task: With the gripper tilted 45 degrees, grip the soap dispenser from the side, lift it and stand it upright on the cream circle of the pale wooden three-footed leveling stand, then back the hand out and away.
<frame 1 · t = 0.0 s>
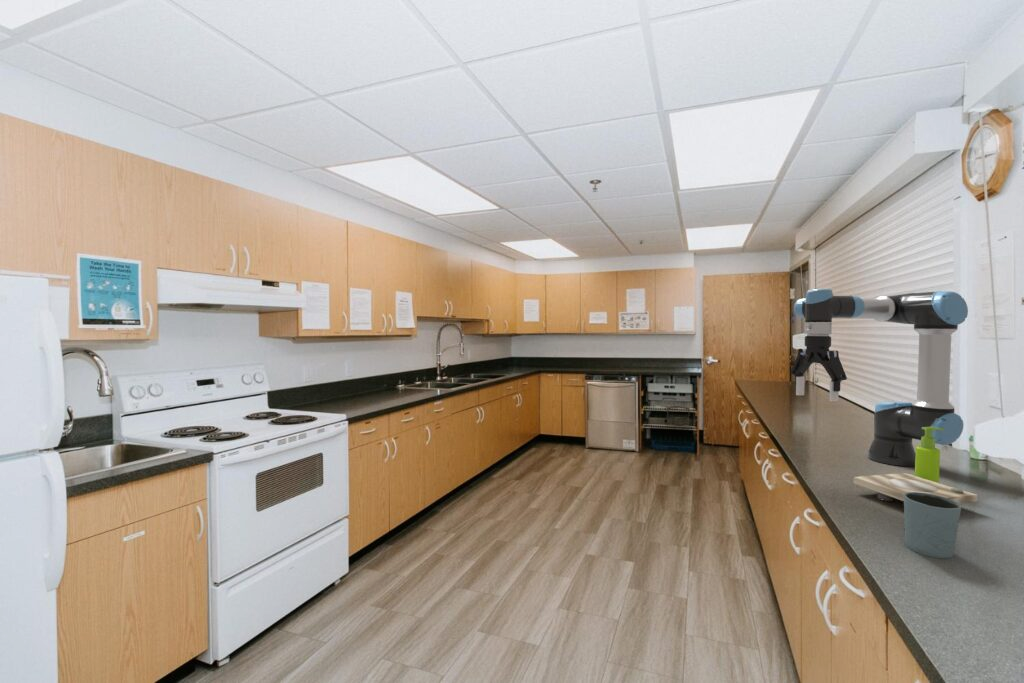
hand: (816, 398, 160), 28 cm above the countertop, tool pointing down, fingers open, 13 cm apart
leveling stand: (911, 501, 141), on the countertop
blue-grey cup: (929, 550, 111), on the countertop
soap dispenser: (928, 489, 152), on the countertop
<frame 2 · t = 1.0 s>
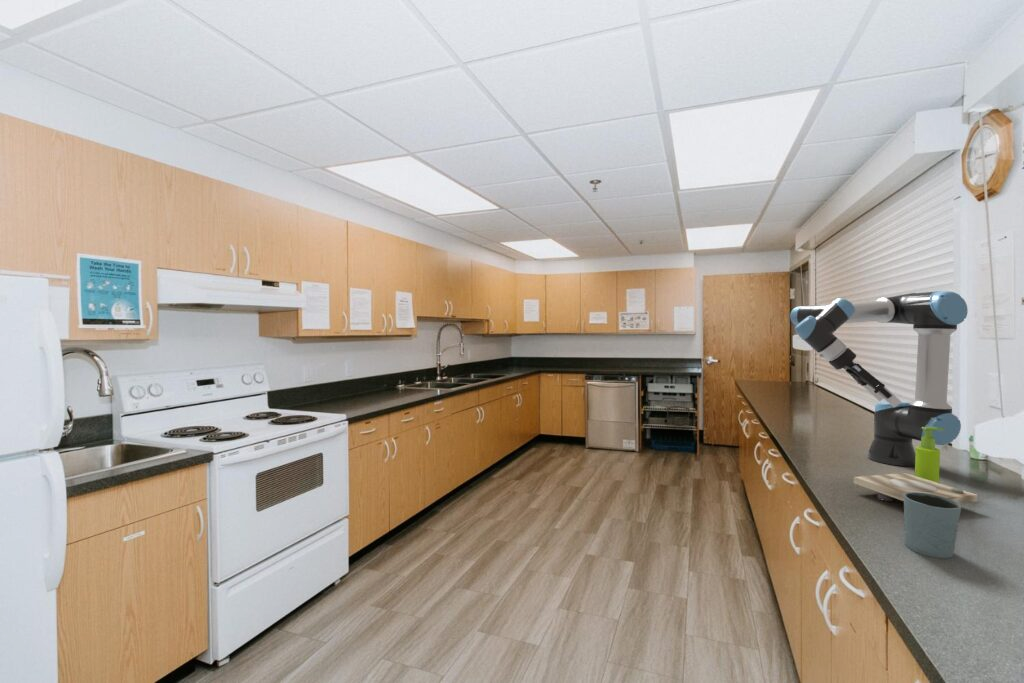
hand: (890, 401, 156), 28 cm above the countertop, tool tilted 45°, fingers open, 13 cm apart
nothing on the countertop moved.
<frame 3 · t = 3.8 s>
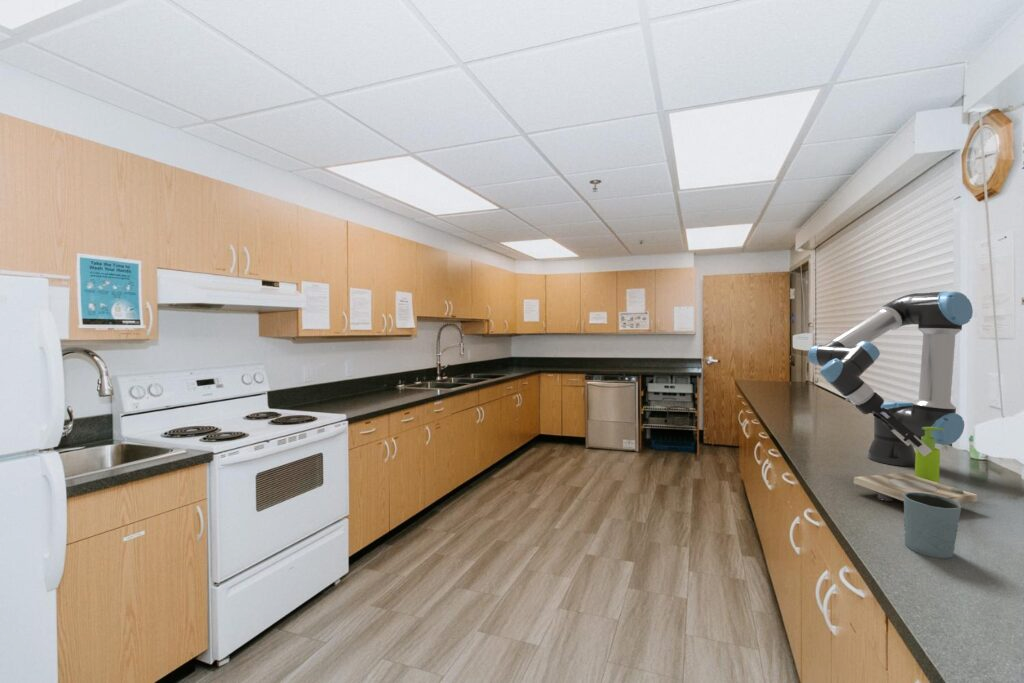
hand: (919, 448, 152), 13 cm above the countertop, tool tilted 45°, fingers open, 13 cm apart
nothing on the countertop moved.
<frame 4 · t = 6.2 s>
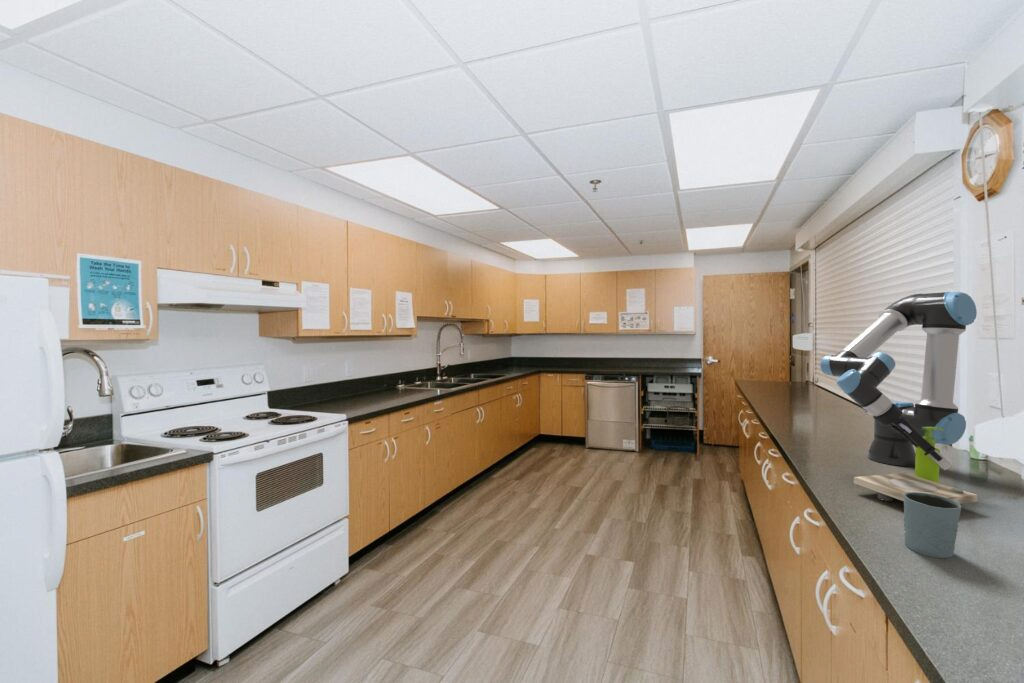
hand: (943, 464, 151), 8 cm above the countertop, tool tilted 45°, fingers closed on soap dispenser, 6 cm apart
soap dispenser: (928, 489, 152), on the countertop, touching gripper
everything else where it was.
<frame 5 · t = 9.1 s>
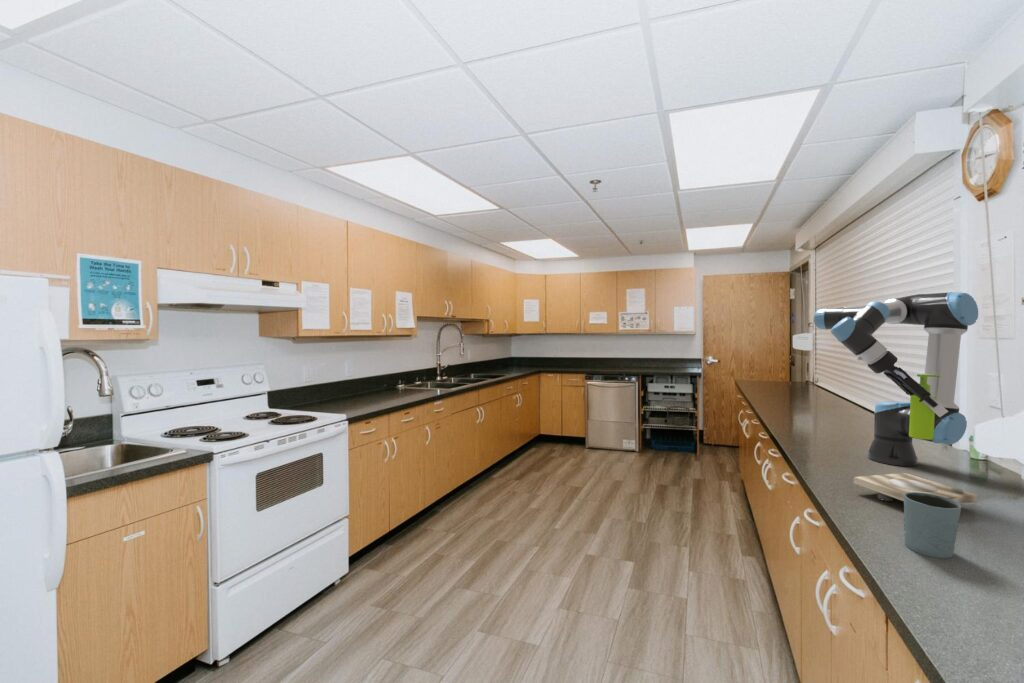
hand: (938, 412, 147), 26 cm above the countertop, tool tilted 45°, fingers closed on soap dispenser, 6 cm apart
soap dispenser: (922, 438, 149), point 17 cm above the countertop, touching gripper
everything else where it was.
when the fingers open (15 cm above the countertop, at t = 12.0 s): soap dispenser drops 1 cm, resting on leveling stand.
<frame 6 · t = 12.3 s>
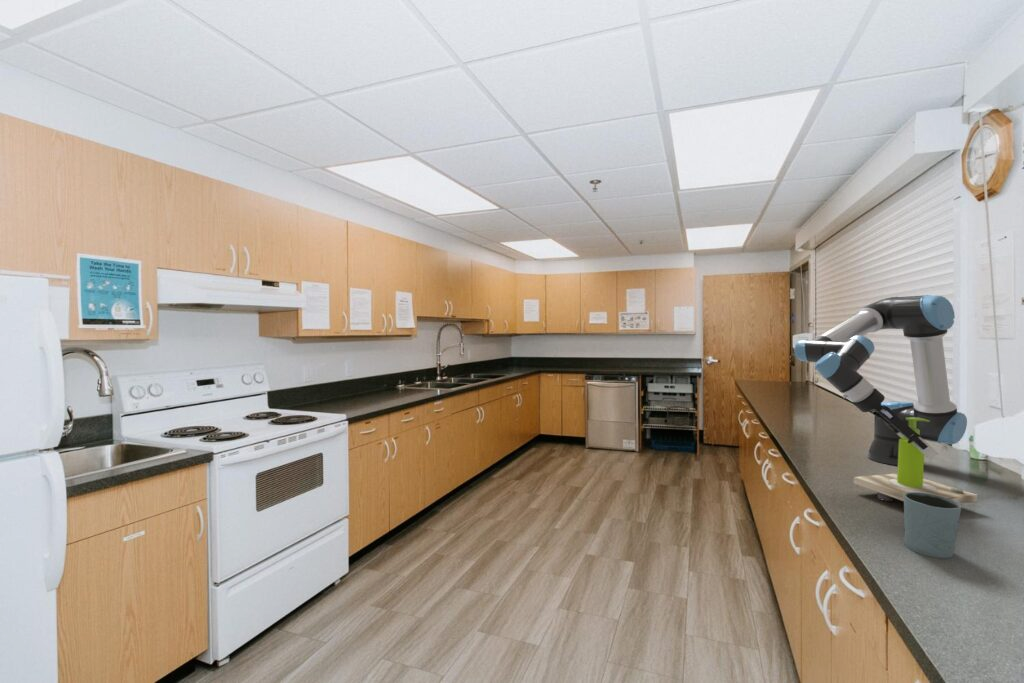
hand: (926, 451, 139), 15 cm above the countertop, tool tilted 45°, fingers open, 10 cm apart
soap dispenser: (911, 484, 141), point 5 cm above the countertop, touching leveling stand
everything else where it was.
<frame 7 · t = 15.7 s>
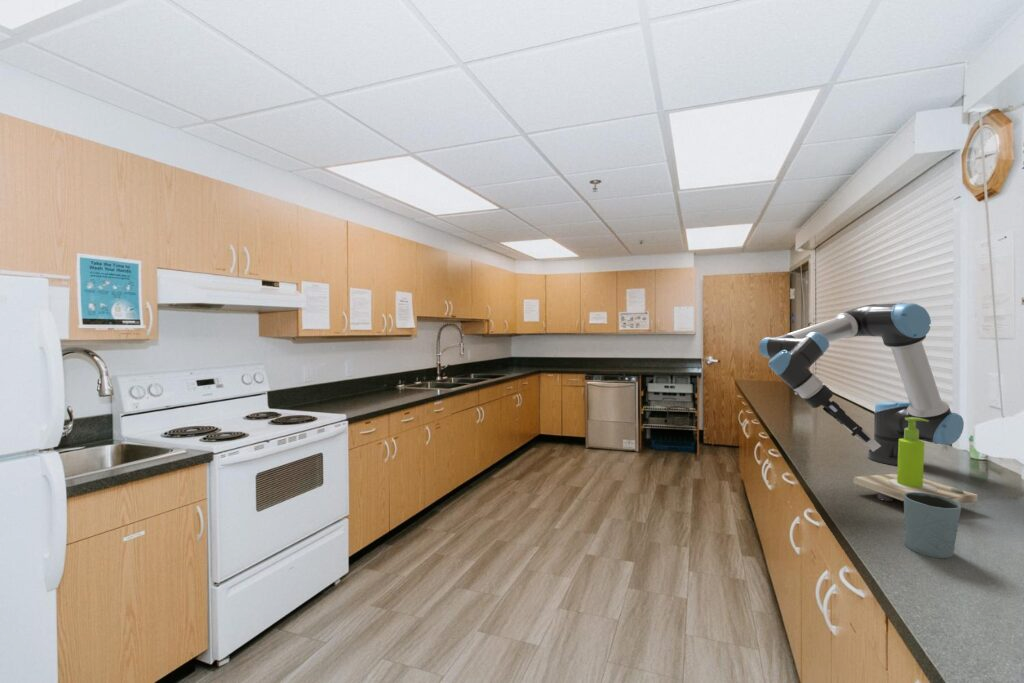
hand: (869, 443, 145), 17 cm above the countertop, tool tilted 45°, fingers open, 13 cm apart
nothing on the countertop moved.
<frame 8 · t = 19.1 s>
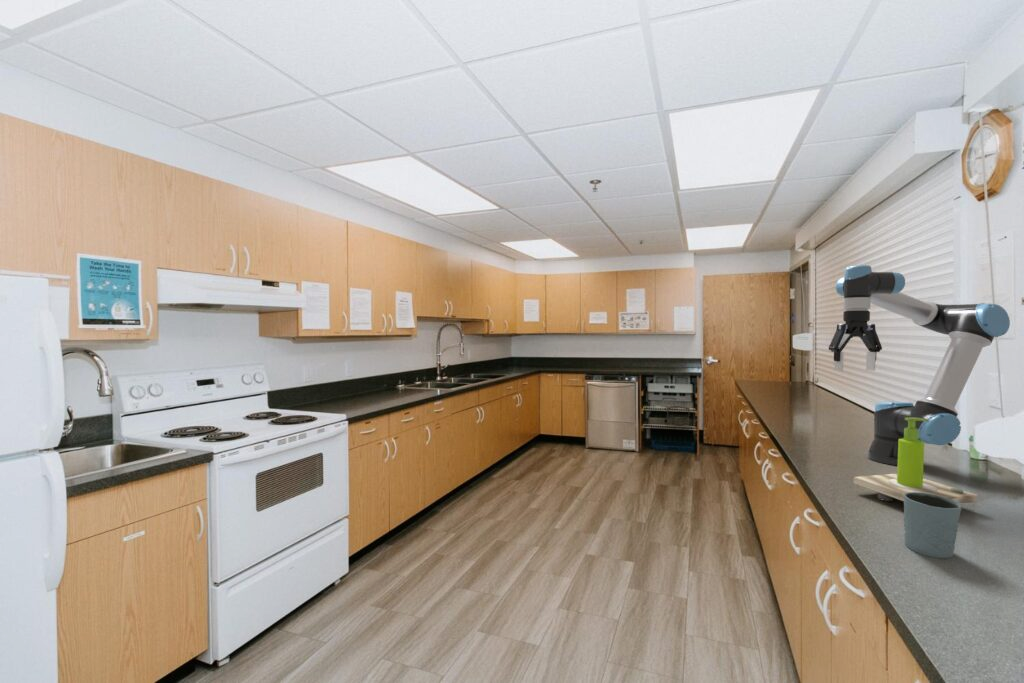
hand: (854, 370, 167), 37 cm above the countertop, tool pointing down, fingers open, 13 cm apart
nothing on the countertop moved.
at the end: soap dispenser inside the target area on the leveling stand (0.3 cm from its centre), point 5.0 cm above the leveling stand's base; soap dispenser tilted 0°; the gripper is holding nothing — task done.
